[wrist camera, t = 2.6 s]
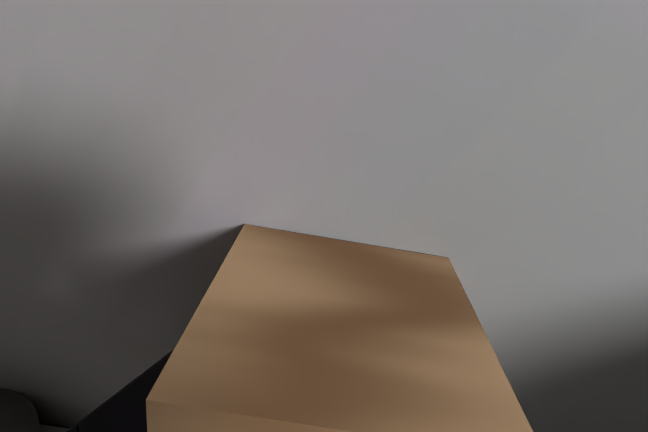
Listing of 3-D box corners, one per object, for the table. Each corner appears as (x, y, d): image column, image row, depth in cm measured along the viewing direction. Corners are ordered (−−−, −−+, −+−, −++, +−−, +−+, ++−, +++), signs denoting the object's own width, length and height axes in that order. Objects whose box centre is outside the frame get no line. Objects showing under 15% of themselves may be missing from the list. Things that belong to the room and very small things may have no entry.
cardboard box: (448, 257, 9) (548, 462, 5) (399, 402, 11) (435, 641, 7) (244, 224, 9) (145, 400, 5) (232, 375, 11) (155, 600, 7)
